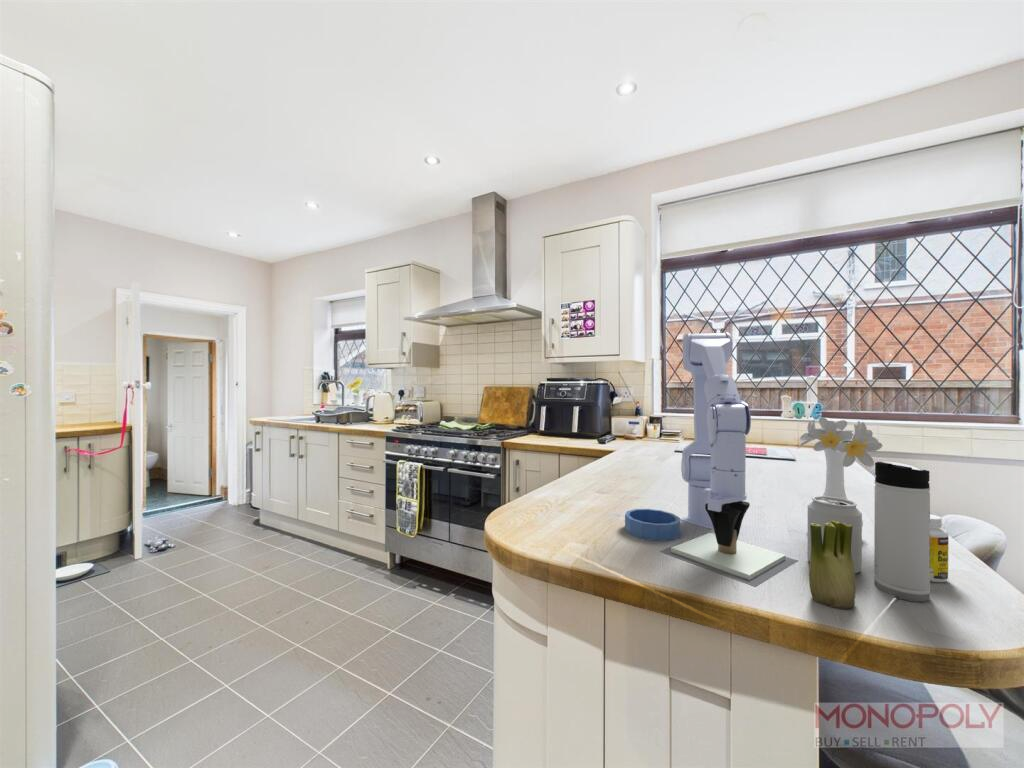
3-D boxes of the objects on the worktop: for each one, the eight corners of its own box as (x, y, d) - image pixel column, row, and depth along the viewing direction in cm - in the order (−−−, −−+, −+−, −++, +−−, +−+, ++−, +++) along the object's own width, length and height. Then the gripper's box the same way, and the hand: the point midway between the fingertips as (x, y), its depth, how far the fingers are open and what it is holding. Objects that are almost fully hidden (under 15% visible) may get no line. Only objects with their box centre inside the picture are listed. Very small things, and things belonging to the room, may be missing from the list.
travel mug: (861, 583, 67) (862, 459, 67) (899, 582, 67) (899, 459, 68) (901, 603, 61) (901, 466, 61) (942, 602, 61) (942, 466, 61)
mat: (706, 535, 88) (706, 533, 88) (798, 562, 75) (798, 560, 75) (659, 553, 78) (659, 551, 78) (755, 589, 64) (755, 586, 64)
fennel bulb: (810, 607, 60) (810, 523, 60) (804, 592, 64) (805, 514, 64) (861, 617, 57) (862, 530, 57) (852, 601, 61) (852, 520, 61)
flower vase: (837, 551, 80) (838, 421, 80) (782, 520, 99) (782, 415, 99) (909, 553, 79) (909, 423, 79) (840, 522, 98) (840, 416, 98)
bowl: (645, 522, 97) (646, 506, 97) (690, 536, 88) (690, 518, 88) (615, 531, 90) (615, 514, 90) (659, 547, 82) (659, 528, 82)
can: (870, 581, 68) (870, 507, 68) (815, 573, 70) (815, 502, 70) (850, 563, 75) (851, 496, 75) (801, 557, 77) (802, 492, 77)
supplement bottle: (943, 587, 66) (943, 522, 66) (897, 573, 71) (897, 513, 71) (952, 578, 69) (952, 516, 69) (907, 566, 74) (907, 508, 74)
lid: (709, 536, 86) (710, 513, 86) (785, 559, 75) (785, 532, 75) (671, 551, 78) (671, 526, 78) (749, 580, 67) (749, 550, 67)
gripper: (718, 460, 85) (717, 527, 84) (690, 470, 74) (689, 546, 74) (757, 465, 80) (756, 536, 79) (733, 476, 69) (732, 558, 69)
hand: (727, 542), depth 76 cm, fingers closed on lid, 3 cm apart
